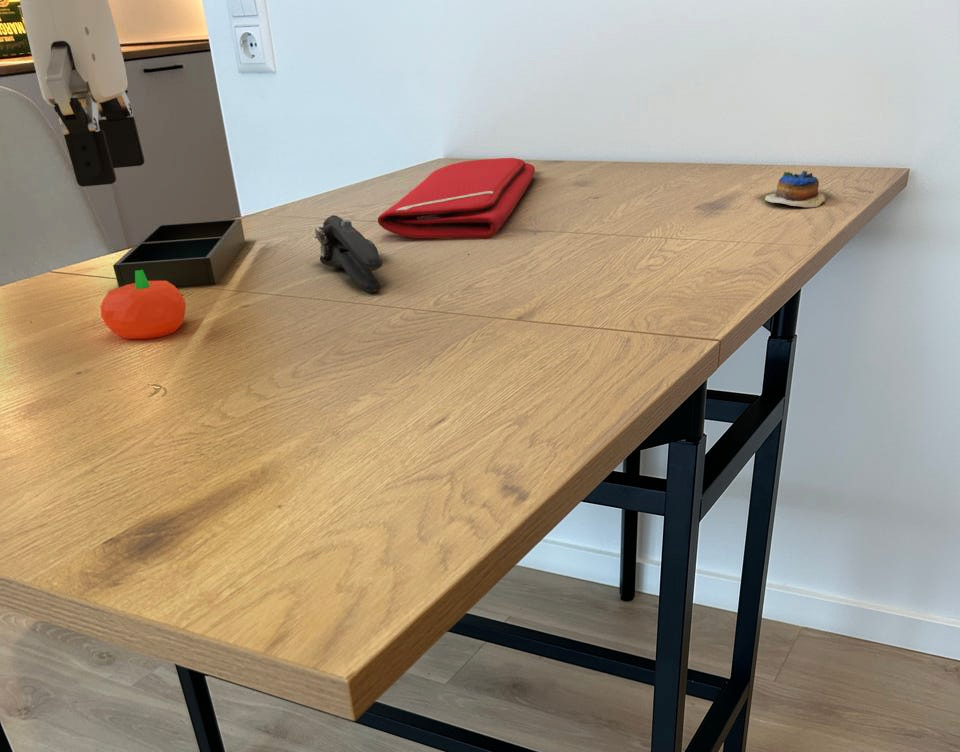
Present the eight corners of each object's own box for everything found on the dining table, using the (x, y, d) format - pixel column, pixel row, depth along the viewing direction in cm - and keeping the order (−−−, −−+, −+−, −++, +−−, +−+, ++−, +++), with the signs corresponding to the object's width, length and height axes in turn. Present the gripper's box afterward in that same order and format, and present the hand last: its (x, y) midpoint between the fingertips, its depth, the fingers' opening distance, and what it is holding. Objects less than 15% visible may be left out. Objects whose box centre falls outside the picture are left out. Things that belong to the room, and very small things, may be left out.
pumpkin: (107, 335, 99) (89, 268, 96) (189, 322, 101) (174, 256, 98) (110, 355, 94) (90, 285, 90) (196, 341, 96) (180, 272, 92)
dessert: (821, 203, 124) (798, 160, 123) (774, 234, 128) (751, 193, 128) (835, 196, 130) (813, 154, 129) (790, 226, 134) (768, 186, 134)
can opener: (313, 264, 119) (305, 213, 116) (370, 255, 120) (364, 205, 117) (342, 300, 104) (334, 243, 101) (406, 290, 106) (400, 234, 103)
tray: (121, 297, 111) (112, 265, 109) (163, 253, 129) (157, 224, 127) (216, 290, 111) (209, 257, 109) (246, 247, 129) (241, 218, 127)
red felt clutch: (537, 177, 157) (536, 150, 154) (499, 238, 123) (498, 206, 121) (439, 181, 159) (437, 155, 157) (376, 242, 126) (372, 211, 124)
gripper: (42, -52, 87) (99, 163, 96) (-37, -57, 73) (39, 196, 82) (127, -60, 87) (176, 156, 96) (65, -67, 72) (130, 188, 82)
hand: (113, 175), depth 89 cm, fingers open, 9 cm apart
